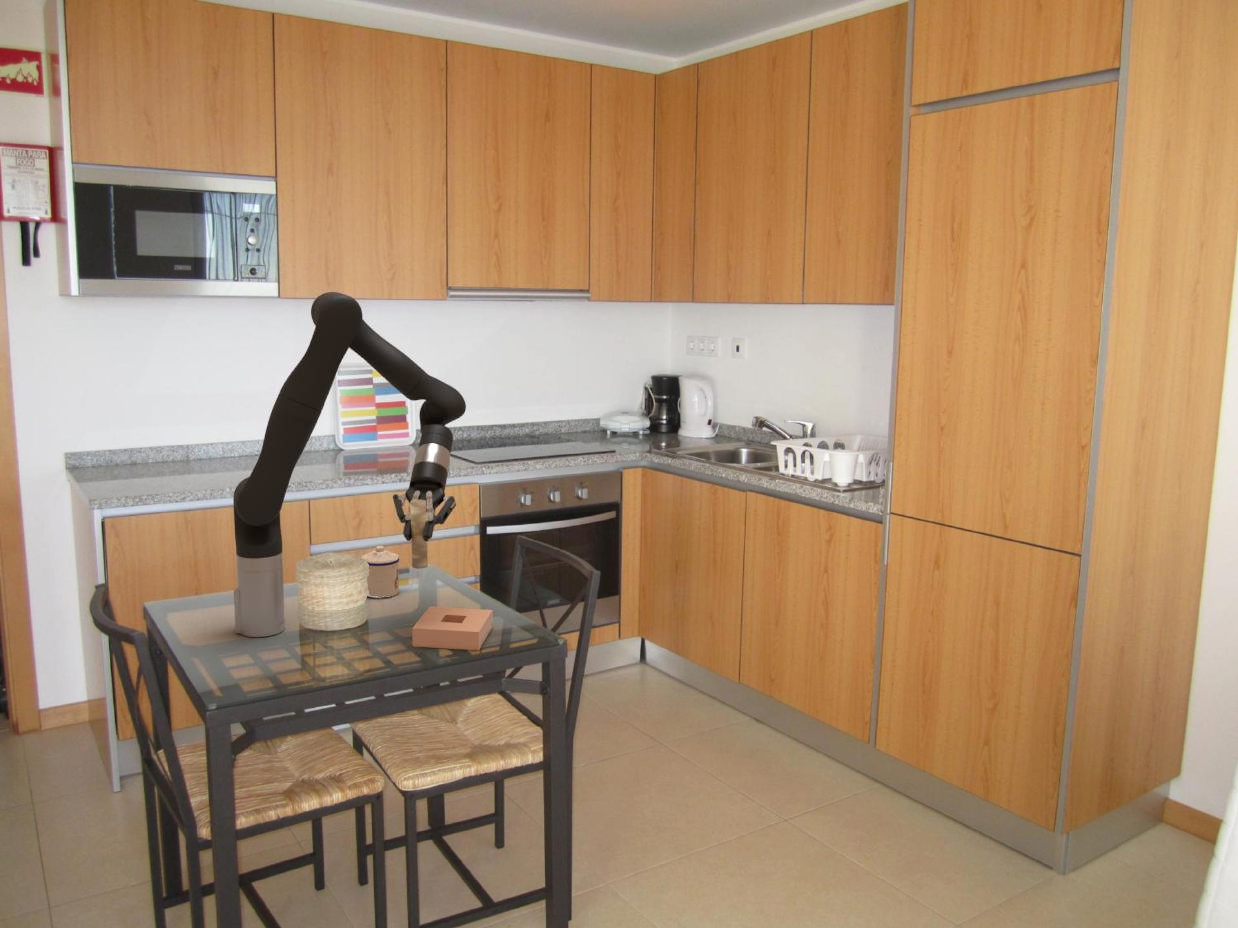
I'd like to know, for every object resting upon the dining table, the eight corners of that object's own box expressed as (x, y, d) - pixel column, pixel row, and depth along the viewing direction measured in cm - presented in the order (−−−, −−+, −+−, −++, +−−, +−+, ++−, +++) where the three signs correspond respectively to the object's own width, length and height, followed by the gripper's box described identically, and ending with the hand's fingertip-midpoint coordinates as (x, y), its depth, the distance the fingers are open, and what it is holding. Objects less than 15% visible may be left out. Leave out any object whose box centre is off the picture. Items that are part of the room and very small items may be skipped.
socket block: (412, 646, 211) (412, 628, 211) (430, 623, 225) (430, 606, 224) (478, 650, 210) (478, 631, 210) (492, 627, 224) (492, 609, 223)
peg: (410, 568, 211) (408, 502, 208) (414, 563, 214) (412, 499, 212) (425, 568, 211) (423, 503, 208) (429, 564, 214) (427, 499, 211)
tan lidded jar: (404, 596, 243) (403, 549, 241) (366, 601, 239) (365, 553, 237) (390, 582, 253) (390, 537, 251) (354, 586, 249) (353, 540, 247)
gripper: (394, 459, 216) (378, 529, 207) (459, 460, 215) (446, 531, 206) (402, 478, 223) (387, 547, 213) (465, 480, 222) (453, 549, 212)
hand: (416, 538), depth 209 cm, fingers closed on peg, 3 cm apart
